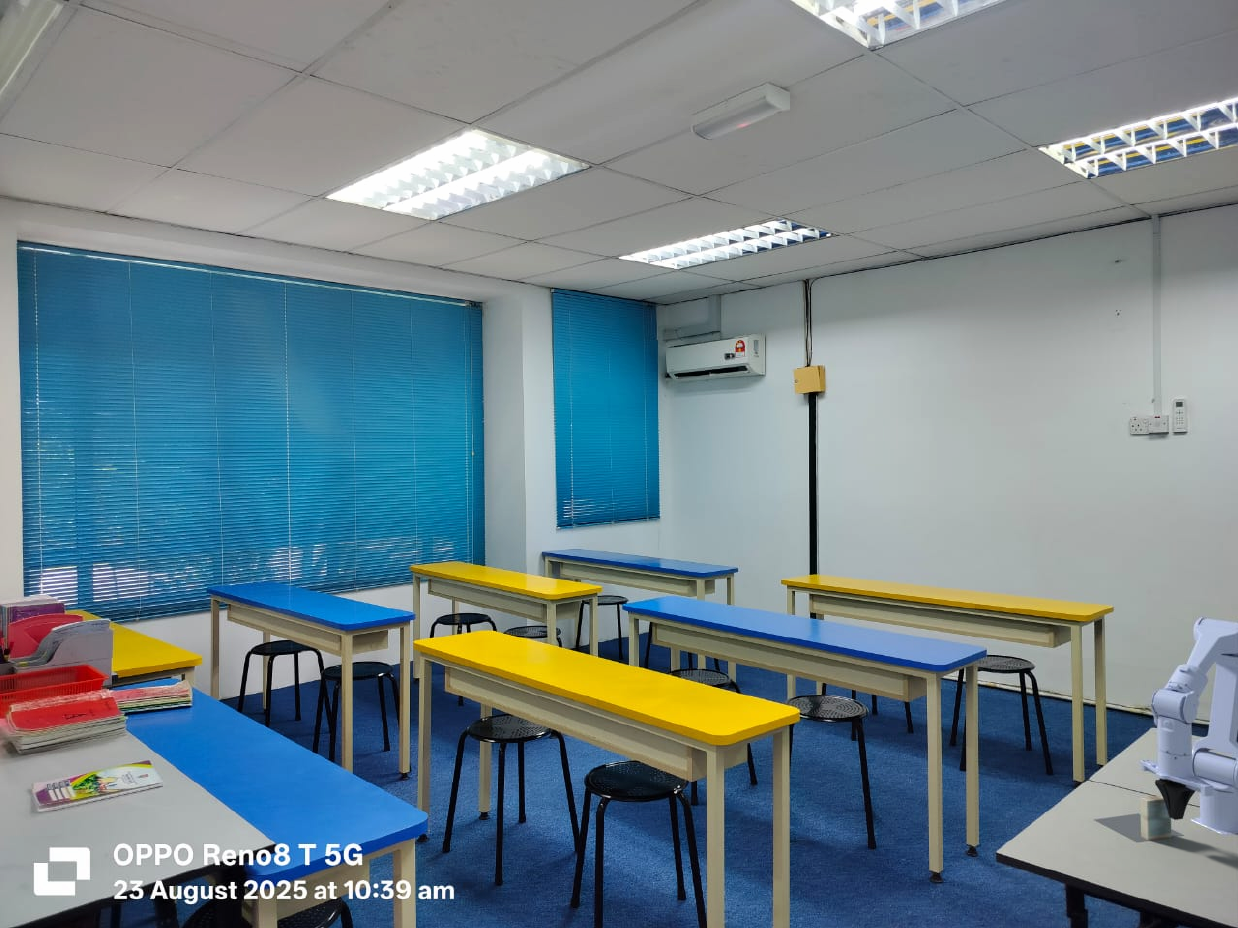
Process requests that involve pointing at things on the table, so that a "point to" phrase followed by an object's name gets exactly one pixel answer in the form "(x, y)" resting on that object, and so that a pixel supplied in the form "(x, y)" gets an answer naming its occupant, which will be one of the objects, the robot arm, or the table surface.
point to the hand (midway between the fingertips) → (1176, 817)
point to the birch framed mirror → (1154, 818)
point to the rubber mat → (1129, 826)
